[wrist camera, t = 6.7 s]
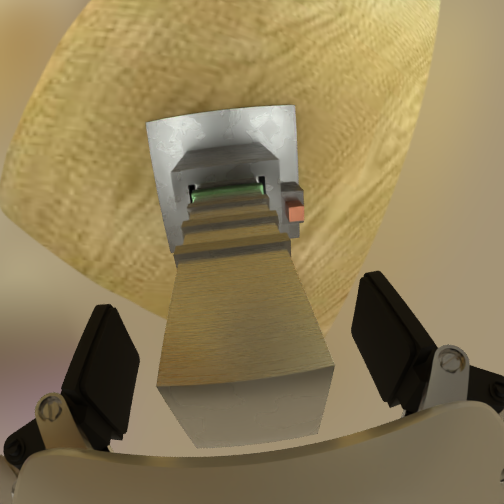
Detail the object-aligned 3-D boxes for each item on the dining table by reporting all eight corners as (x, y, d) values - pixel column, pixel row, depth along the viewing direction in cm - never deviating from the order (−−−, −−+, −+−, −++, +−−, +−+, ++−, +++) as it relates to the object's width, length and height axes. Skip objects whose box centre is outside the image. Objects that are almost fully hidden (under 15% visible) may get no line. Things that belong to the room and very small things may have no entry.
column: (197, 175, 21) (145, 381, 5) (254, 168, 21) (344, 357, 6) (205, 226, 23) (192, 450, 8) (258, 220, 23) (322, 434, 8)
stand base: (148, 122, 24) (105, 133, 14) (292, 105, 25) (334, 106, 15) (172, 248, 31) (154, 314, 21) (297, 233, 32) (329, 293, 22)
